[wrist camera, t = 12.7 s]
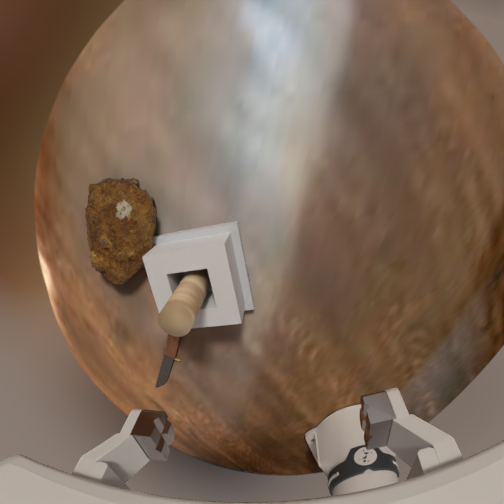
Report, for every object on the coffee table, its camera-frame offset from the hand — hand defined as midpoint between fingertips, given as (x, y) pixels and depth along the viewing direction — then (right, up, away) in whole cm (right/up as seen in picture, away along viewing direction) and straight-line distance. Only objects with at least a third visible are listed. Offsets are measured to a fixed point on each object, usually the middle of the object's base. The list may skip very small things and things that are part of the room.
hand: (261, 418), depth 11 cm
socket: (-7, +4, +30) cm, 31 cm away
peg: (-7, +4, +29) cm, 30 cm away
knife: (-13, -10, +36) cm, 39 cm away
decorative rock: (-18, +10, +29) cm, 36 cm away
